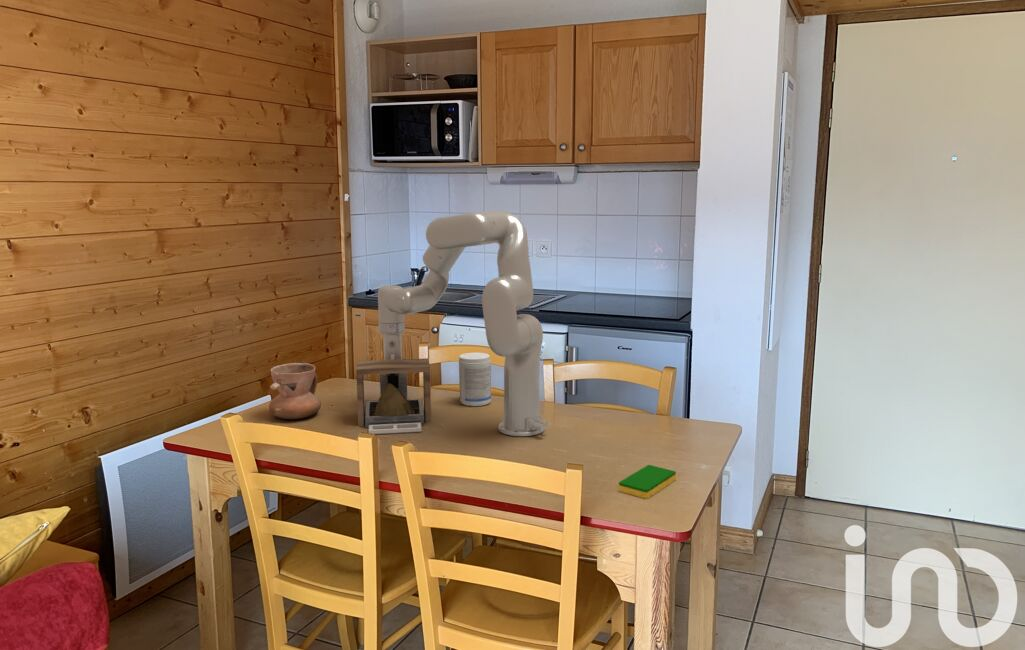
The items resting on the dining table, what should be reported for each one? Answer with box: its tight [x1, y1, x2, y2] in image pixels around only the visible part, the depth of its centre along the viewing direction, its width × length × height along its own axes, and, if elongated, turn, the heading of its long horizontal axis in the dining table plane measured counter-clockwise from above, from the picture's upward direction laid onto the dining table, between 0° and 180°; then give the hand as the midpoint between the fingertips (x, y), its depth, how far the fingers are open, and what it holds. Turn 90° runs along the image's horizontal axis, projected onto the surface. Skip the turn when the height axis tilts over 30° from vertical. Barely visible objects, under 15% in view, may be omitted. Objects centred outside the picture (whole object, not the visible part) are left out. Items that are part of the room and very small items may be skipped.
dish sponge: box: [618, 464, 677, 500], centre depth 174 cm, size 7×14×2 cm, turn 142°
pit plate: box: [368, 422, 423, 436], centre depth 211 cm, size 5×14×1 cm, turn 99°
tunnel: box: [355, 357, 432, 427], centre depth 220 cm, size 10×20×16 cm, turn 99°
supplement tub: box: [458, 352, 492, 407], centre depth 236 cm, size 10×10×15 cm
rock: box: [373, 383, 415, 416], centre depth 220 cm, size 11×9×10 cm
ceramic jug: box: [268, 362, 322, 420], centre depth 223 cm, size 18×14×14 cm
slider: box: [364, 373, 425, 428], centre depth 225 cm, size 25×16×9 cm, turn 9°
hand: (393, 387), depth 233 cm, fingers closed
